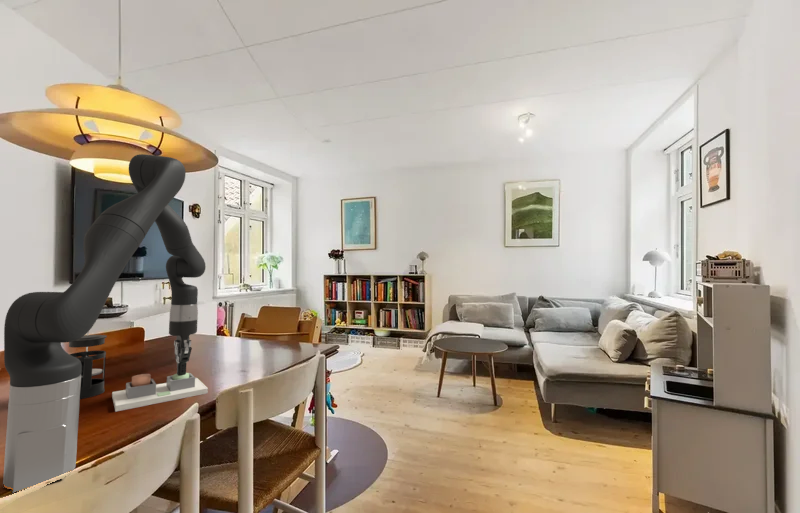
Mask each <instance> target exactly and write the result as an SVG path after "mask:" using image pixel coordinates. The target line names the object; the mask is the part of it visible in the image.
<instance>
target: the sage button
mask: <svg viewBox="0 0 800 513" xmlns="http://www.w3.org/2000/svg"><path fill="white" fill-rule="evenodd" d="M189 373H190V372H186V374H185V375H180V376H179V375H178V374H177V373H174V374H173V375H172V376H173V379H172V380H179V379H184V378H189Z"/></svg>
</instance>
